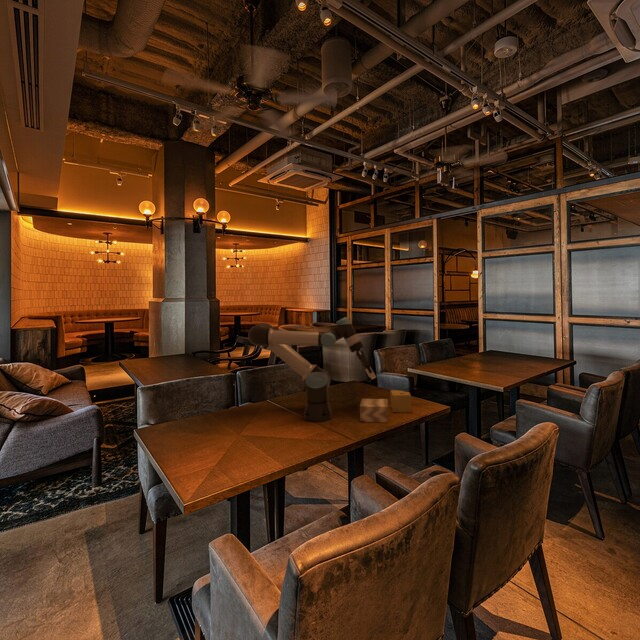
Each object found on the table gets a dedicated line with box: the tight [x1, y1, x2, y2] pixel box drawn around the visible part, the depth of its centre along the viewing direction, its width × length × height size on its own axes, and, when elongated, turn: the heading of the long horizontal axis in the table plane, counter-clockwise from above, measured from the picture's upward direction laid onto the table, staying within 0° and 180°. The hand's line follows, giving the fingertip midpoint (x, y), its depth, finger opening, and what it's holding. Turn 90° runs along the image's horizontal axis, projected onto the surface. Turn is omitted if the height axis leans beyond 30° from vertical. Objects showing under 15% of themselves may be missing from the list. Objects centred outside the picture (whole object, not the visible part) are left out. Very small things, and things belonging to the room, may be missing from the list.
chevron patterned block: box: [359, 398, 389, 423], centre depth 197 cm, size 14×14×8 cm
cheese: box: [389, 389, 412, 413], centre depth 208 cm, size 10×11×10 cm
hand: (372, 377), depth 207 cm, fingers open, 13 cm apart
